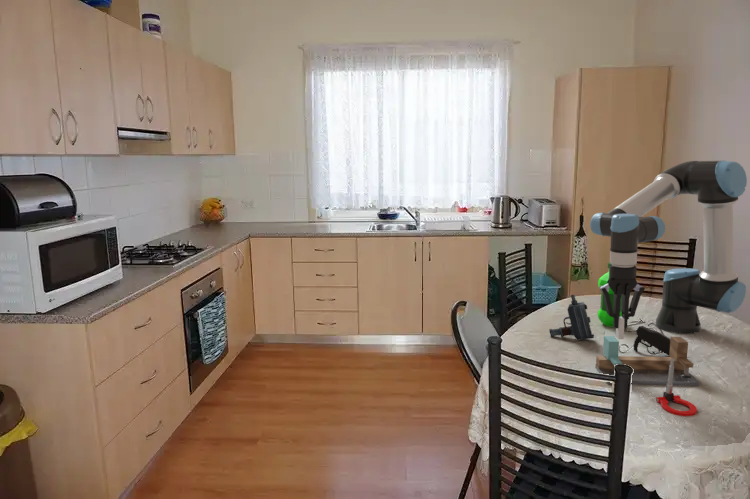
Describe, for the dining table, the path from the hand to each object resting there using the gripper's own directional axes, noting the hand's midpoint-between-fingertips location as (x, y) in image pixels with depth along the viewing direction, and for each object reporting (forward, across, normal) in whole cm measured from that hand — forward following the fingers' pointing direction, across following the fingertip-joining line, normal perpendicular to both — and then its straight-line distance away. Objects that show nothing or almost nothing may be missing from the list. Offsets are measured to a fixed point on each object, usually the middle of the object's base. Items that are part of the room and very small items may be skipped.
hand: (619, 337), depth 165 cm
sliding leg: (+9, +3, +3) cm, 10 cm away
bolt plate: (+11, -6, +4) cm, 14 cm away
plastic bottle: (+12, -12, -45) cm, 48 cm away
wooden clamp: (+10, -7, +3) cm, 12 cm away
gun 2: (+12, -18, -14) cm, 25 cm away
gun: (+11, +8, -29) cm, 32 cm away
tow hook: (+11, -8, +24) cm, 28 cm away
